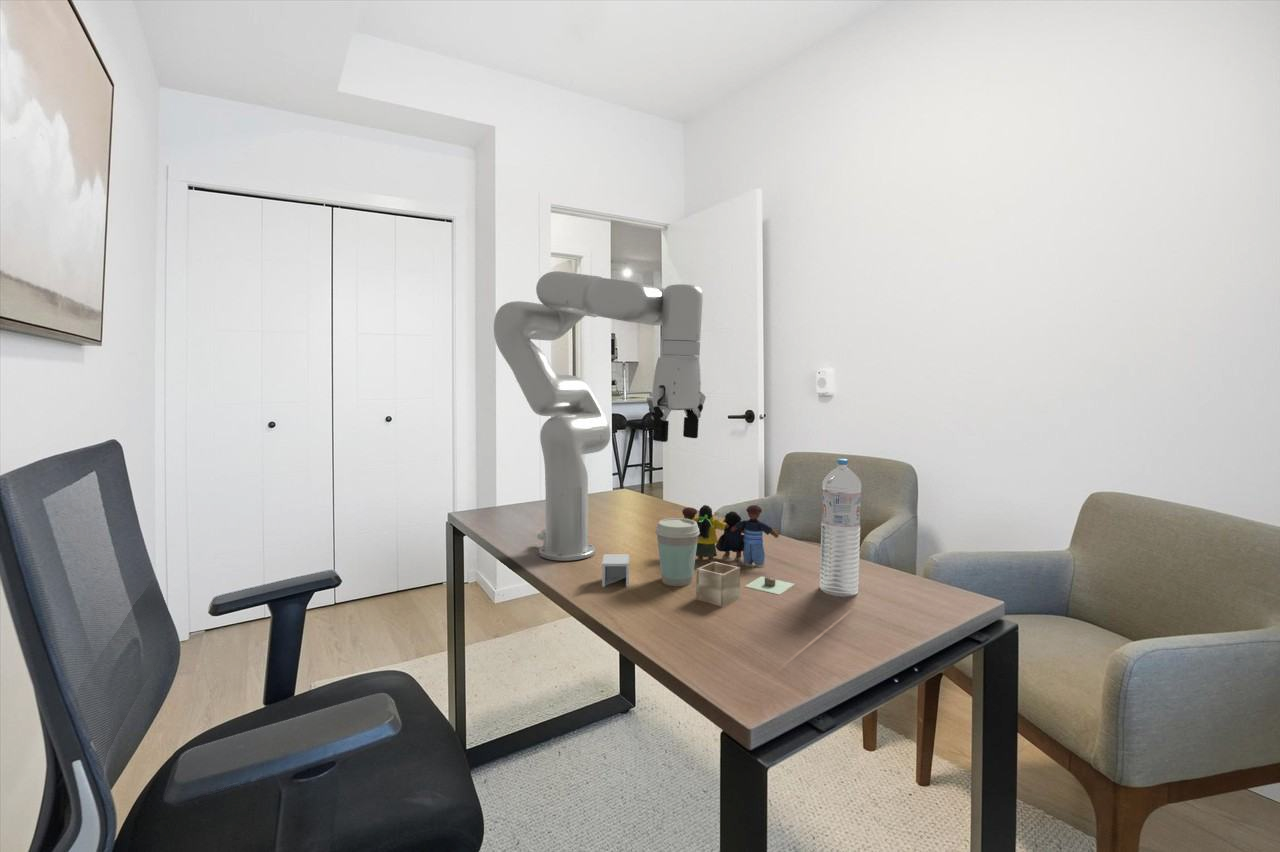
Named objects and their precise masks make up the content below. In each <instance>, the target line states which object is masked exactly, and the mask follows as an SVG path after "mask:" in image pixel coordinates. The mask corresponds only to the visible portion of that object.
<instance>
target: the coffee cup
mask: <svg viewBox="0 0 1280 852" xmlns="http://www.w3.org/2000/svg"><path fill="white" fill-rule="evenodd" d="M655 534H656V535H657V537H656V539H657V545H658V546H657V547H658V557H659V565H660V567H659V568H660V574H661V582H662V583H663V584H664V585H667V586H673V587H685V586H689V585H691V584H692V583H693V582H694V581H693V580H694V574H695V573H694V571H695V564H696V557H697V556H696V549H697V540H698V535H699V534H700V532H699V528H698V525H697V522H696V521H693V520H690V519H685V518H684V517H683V518H681V517H679V518H678V517H677V518H675V517H672V518H664V519H660V520H659V521H658V523H657V526H656V528H655Z"/></svg>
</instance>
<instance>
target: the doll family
mask: <svg viewBox="0 0 1280 852" xmlns="http://www.w3.org/2000/svg"><path fill="white" fill-rule="evenodd" d="M745 510H746V511H745V512H747V515H748V517H749V518H750V519H744V520H742V517H741V516H740V515H739V514H738V513H737V512H736V511H729V512H727V513H726V514H725V516H724V519H723V521H722V520H720V519H717V518H714V514H713V509H712V508H711V507H710V506H709V505H707V504H704V505H702V507H700V509H699V510H697V509H696V508H694V507H690V506H688V507H685V508H683V509H682V510H681V511H682V512H681V513H682V515H683V519H690V520H693V521H696V522H697V525H698V528H699V532H700V534H699V535H698V540H697V549H696V557H697V560H698V561H703V560H704V559H705V558H708V559H707V560H708V562H713V561H715V558H714V557H718V555H717V551H719V552H723V555H722V558H723V559H724V560H732V554H731V552H733V553H736V554H735V557H734V561H736V562H742V561H743V565H744V566H747V567H752V566H753V564H754V565H755V567H756V568H759V569H760V568H761V569H762V568H764V567H765V566H766V563H765V558H766V557H765V556H766V554H765V548H764V540H763V533H765V534H766V535H767V536H768V535H771V536H773V538H775V539H777V538H778V539H779V536H780V535H779V532H777V531H775V530H774V529H773V527H771V525H770V526H769V525H768V524H766V523H764V522H762V521H760V520H758V519H759V517H760V514H761V513H762V512H763V510H762V508H761V507H760V506H758V505H757V504H753V505H752V504H751V505H749V506H747V508H746V509H745ZM697 513H698V515H697ZM696 515H697V516H698V517H696ZM716 530H721V532H722V531H723V534H721V535H720V537H719V538H718V537H717V533H716Z"/></svg>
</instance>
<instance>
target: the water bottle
mask: <svg viewBox="0 0 1280 852" xmlns="http://www.w3.org/2000/svg"><path fill="white" fill-rule="evenodd" d="M848 463H849V459H847V458H837V459H836V465H837V467H835V468H833V469H832V470H831V471H830V472H828V473H827V475H826V476H825V477H824V478H823V480H822V486H821V488H822V509H821V510H822V511H821V514H822V516H821V525H820V526H821V528H820V530H821V531H820V532H821V533H820V557H819V558H820V563H819V564H820V566H819V570H820V571H819V574H820V575H819V587H820V591H821V592H823V593H824V594H827V595H830V596H834V597H847V598H849V597H854V596H856V595H857V594H858V592H859V577H860V575H859V574H860V569H859V568H860V553H861V552H860V548H861V547H860V546H861V544H860V543H861V524H860V523H861V496H862V495H861V492H862V482H861V479H860V478H859V477H858V475H857V474H856V473H855V472H854V471H853V470H851V469H850V468H848Z"/></svg>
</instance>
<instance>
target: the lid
mask: <svg viewBox="0 0 1280 852" xmlns="http://www.w3.org/2000/svg"><path fill="white" fill-rule="evenodd" d="M795 585H796V584H795V583H792V582H788V581H783V580H778V579H776V578H775V577H771V576H767V577H765V576H758V578H756V579H754V580H753V581H751V582H750V583H747V584H745V585H744V588H748V589H751V590H752V589H753V590H757V591H760V592H764V593H770V594H772V595H773V594H774V595H777V596H780V595H781V594H783V593H785V592H786V591H788V590H789V589H791V588H792V587H794V586H795Z"/></svg>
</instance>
